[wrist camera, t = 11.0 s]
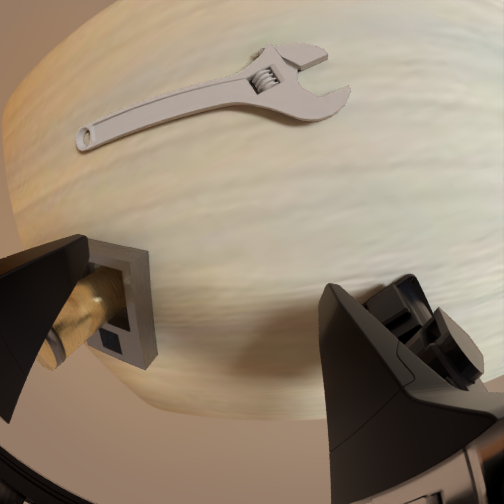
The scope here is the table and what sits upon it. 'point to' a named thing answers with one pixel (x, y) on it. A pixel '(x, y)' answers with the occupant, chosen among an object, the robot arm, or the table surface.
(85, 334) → the gold tin can
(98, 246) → the grey rectangular holder
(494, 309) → the table surface
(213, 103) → the adjustable wrench
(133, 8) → the table surface
